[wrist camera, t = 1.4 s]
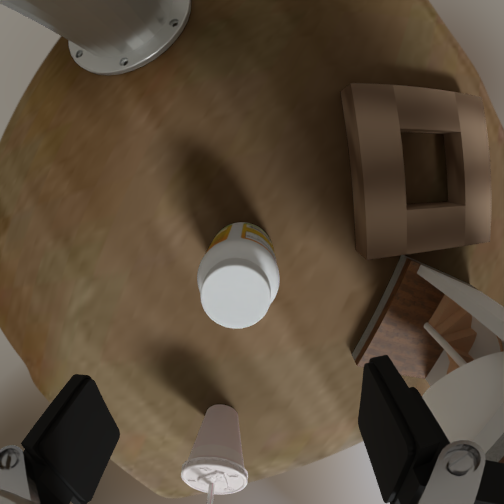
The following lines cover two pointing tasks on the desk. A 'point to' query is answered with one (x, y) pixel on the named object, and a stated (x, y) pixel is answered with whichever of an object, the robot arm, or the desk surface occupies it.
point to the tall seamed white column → (444, 350)
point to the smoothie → (216, 455)
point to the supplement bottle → (238, 276)
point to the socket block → (393, 176)
